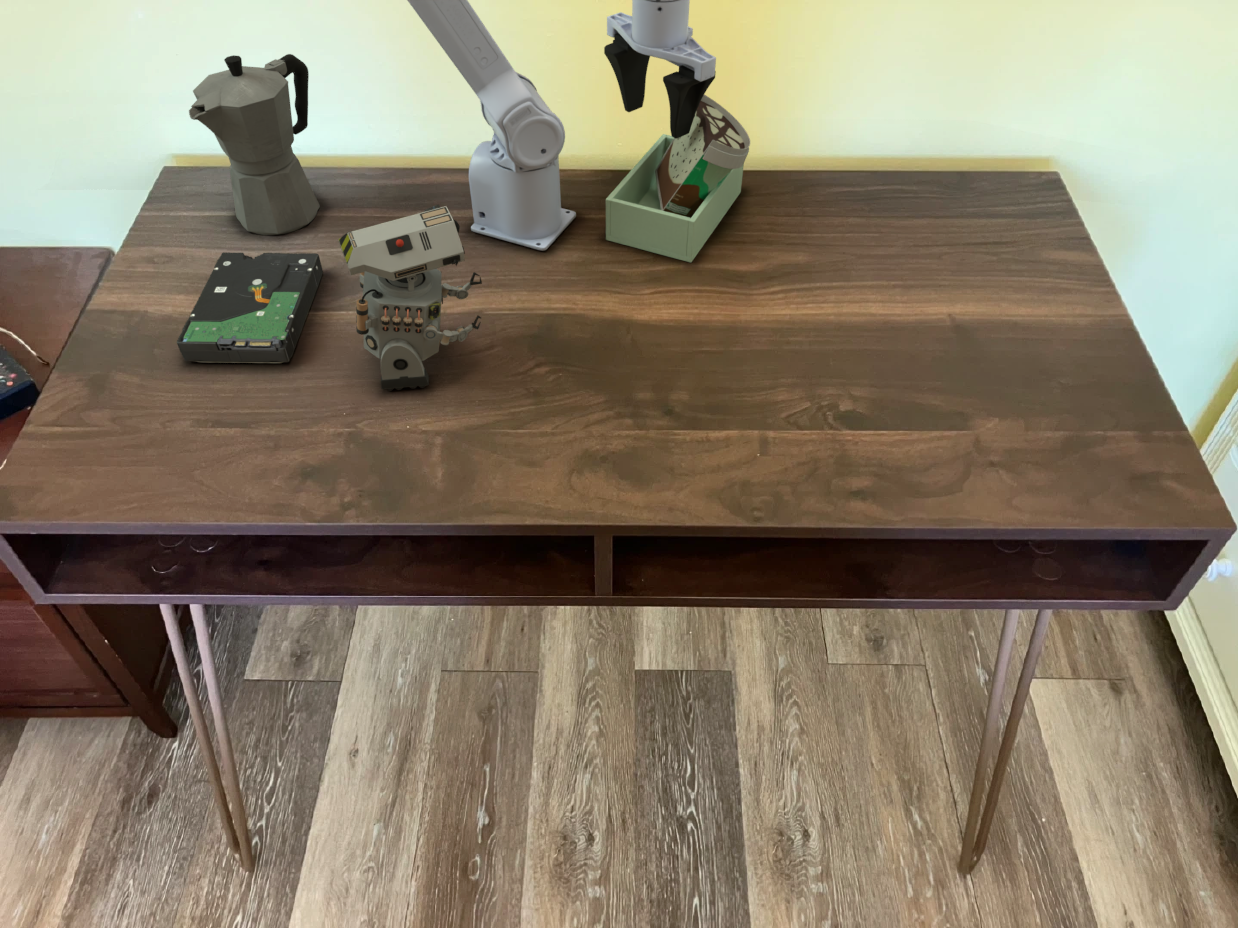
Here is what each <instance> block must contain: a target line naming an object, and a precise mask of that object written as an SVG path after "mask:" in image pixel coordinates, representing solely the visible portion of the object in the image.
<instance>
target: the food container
mask: <svg viewBox="0 0 1238 928" xmlns="http://www.w3.org/2000/svg"><path fill="white" fill-rule="evenodd" d="M750 146H751V139H750V136H749V134H748V132H747V131H746V129H745V128H744V126H743V125H742V124H741V123H740V122H739V120H738V119H737V118H735V116H734V115H733V114H731V113H730V112H729V111H728V110H727V109H726V108H724V106H722V105H721V104H720V103H718V102H717V101H716V100H714V99H712V98H711V97H710V96H708V95H706V94H704V95H703V97H702V99H701V101H700V103H699V106H698V108H697V111H696V113H695V116H694V119H693V122H692V125H691V128H690V132H689V133H688V134H686V135H684V136H682V137H679V138H677V139H676V138H674V139H673V140H672V142H671V144H670V146H669V147H668V149H667V151H666V153H665V154H664V156H663V158H662V159H661V161H660V163H659V165H658V166H657V168H656V170H655V176H656V182H657V189H658V195H659V201H660V208H661V210H662V211H666V212H670V213H674V214H678V215H682V216H685V217H689V218H691V217H692V216H693V215H694V213H695V212H696V211H697V209H698V208H699V207H700V205H701V204H702V203H703V201H704V200H705V198H706V197H707V196H708V194H709V193H710V192H711V191H712V190H713V189H715V188H716V187H717V186H719V185H720V184H721V183H722V181H723V180H724V179H725V178H726V176H727V175H728V174H729V173H730V171H731V170H732V169H737V168H740V167H742V166H743V164H744V165H745V162H746V160H747V157H748V155H749V153H750Z"/></svg>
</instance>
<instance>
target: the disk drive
mask: <svg viewBox="0 0 1238 928" xmlns="http://www.w3.org/2000/svg"><path fill="white" fill-rule="evenodd" d="M211 271H212V272H211V273H210V275H209V278H208V279H207V281H206V283H205V285H204V286H203V289H202V291H201V293H200V295H199V297H198V298H197V301H196V302H195V305H194V306H193V309H192V310H191V312H190V315H189V317H188V318H187V320H186V322H185V324H184V325H183V327H182V330H181V333H180V335H179V336H178V337H177V340H176V345H177V348H178V349H179V352H180V354H181V355H182V358H183V361H184V362H197V363H225V364H226V363H227V364H228V363H232V364H233V363H234V364H235V363H237V364H240V363H242V364H243V363H246V364H247V363H248V364H251V363H252V364H282V363H289V362H290V361H291V359H292V358H293V355H294V351H295V348H296V347H297V344H298V342H299V338H300V336H301V333H302V330H303V328H304V325H305V323H306V322H305V321H306V319H307V318H308V314H309V312H310V310H311V307H312V303H313V301H314V299H315V296H316V293H317V290H318V287H319V285H320V282H321V279H322V276H323V273H324V270H323V266H322V263H321V259H320V255H319V253H315V252H312V253H308V252H304V253H301V252H300V253H299V252H298V253H293V252H292V253H289V252H263V253H261V254H259V255H257V256H254V258H253V257H252V256H249V255H245V253H244V252H225V251H223V252H221V254H220V256H219V258H218V259H217V260H216V263H215V264H214V267H213V270H211Z"/></svg>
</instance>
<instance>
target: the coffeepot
mask: <svg viewBox="0 0 1238 928" xmlns="http://www.w3.org/2000/svg"><path fill="white" fill-rule="evenodd" d="M223 60H224V63H225V64H226V66H227V68H228V69H226V70H223V71H219V72H215V73H210V74H208V75H207V76H206V77H205V78H204V79H203V80H202V81H201V82H200V83H199V84H198V85H197V86H196V87H195V88H194V89H193V90H192V93H193V95H194V97H195V99H196V101H194V103H193V104H192V105H191V106H190V107H191V108H190V109H188V116H189V118H190V119H191V120H194V121H195V120H196V121H198V122H200V123H201V124H202V125H204V126H205V127H206V128H207V129H208V130H209V131H211V132H212V133H213V135H214V137H215V138H216V140H217V142H218V145H219V146H220V148H221V150H222V151H223V152H224V154H225V155H226V156H227V157H228V160H229V163H230V164H229V165H230V166H229V167H228V168H229V175H230V182H231V190H232V196H233V204H234V211H235V217H236V218H237V220H238V222H239V223H240V224H241V226H242V227H243V229H245V230H246V231H247V232H250V233H253V234H256V235H261V236H277V235H278V236H279V235H280V236H281V235H284V234H289V233H293V232H296V231H299V230H300V229H302V228H304V227H306V226H307V225H309V224H310V223H311V222H312V221H313V220H314V219H315V218H316V216H317V214H318V210H320V207H321V205H320V203H319V201H318V198H317V196H316V195H315V192H314V190H313V188H312V186H311V184H310V182H309V179H308V177H307V175H306V172H305V170H304V169H303V166H302V165H301V162H300V160H299V159H298V157H297V156H296V154H295V152H294V150H293V147H292V145H293V143H294V141H295V135H298V134H300V133H301V132H303V131H305V130H306V129H307V128H308V126H309V123H308V122H309V121H308V120H309V119H308V118H309V77H310V75H309V67H308V66H307V65H306V63H305V62H304V61H302V60H301V59H299V58H298V57H297V56H295V55H294V54H292V53H287V54H285V55H284V56H282V57H281V58H278V59H276V58H275V59H273V60H271V61H269V62H267V63H265V64H264V67H260V66H259V67H258V66H246V65H243V62H242V57H241V56H240V55H230V56H229V55H228V56H226V57H225V58H224V59H223ZM291 74H293V86H294V93H295V94H294V95H295V97H294V98H295V99H294V109H295V114H296V117H297V119H296V122H295V124H293V117H292V115H293V114H292V108H291V98H290V97H291V96H290V88H289V80H288V79H286V78H287V77H289V76H290V75H291Z"/></svg>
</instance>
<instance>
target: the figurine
mask: <svg viewBox="0 0 1238 928" xmlns="http://www.w3.org/2000/svg"><path fill="white" fill-rule="evenodd" d="M447 206H448V205H445V206H441V205H440V204H434V205H433V206H430V207H427V208H426V209H424V210H423V212H418V213H415V214H412V215H411V214H410V215H407V216H403V217H401V218H396V219H393V220H389V221H385V222H382V223H378V224H374V225H370V226H367V227H364V228H359V229H356V230H352V231H349V232H346V233H345V234H344V235H342V236H341V237H340V238H338V239H337V240H338V243H339V246H340V248H341V252H342V254H343V257H344V261H345V264H346V266H347V268H348V271H349V275H350V276H355V275H358V274H359V287H360V288H361V289H362V297H361V298H358V299H357V300H356V307H355V312H356V315H355V323H356V330H355V331H356V333H357V334H359V335H360V336H361V335H362V336H363V349H365V350H366V351H368V352H369V354H370V353H371V354H372V355H373V356H374V357H376V358H378V359H379V360H380V390H387V391H389V392H391V391H393V390H394V389H395V390H397V391H401V390H402V389H403V388H410V389H412V390H413V389H414V390H415V389H417V387H419V388H420V389H424V388H426V386H429V385H430V383H429V382H430V380H429V379H430V377H429V374H428V371H427V369H426V368H425V367H424V364H423V362H424V361H425V360H427V359H429V358H431V357H432V356H434V355H435V354H437V353H439V350H440V345H443V346H449V345H450V342H451V343H453V342H456V341H458V342H460V343H461V342H464V341H465V340H466V339H467V337H468V333H470V332H471V331H473V329H475V330H479V329H480V326H481V321H479V319H482V316H480V315H479V314H478V315H477V316H476V317H475V318H474V321H473V322H471V323H470V324H468V325H467V326H465V327H464V326H462V325H460V326H458V327H457V328H456V329H455V330H450V329H449V330H448V329H444V330H443V331H441V318H442V317H441V315H442V305H444V299H447V297H450V298H451V297H455V298H456V299H458V300H465V299H467V298H468V296H469V290H470V289H471V288H472V287H473V286H476V285H482V284H483V282H482V278H481V276H480V274H478V273H477V272H475V271H474V272H473V273H472V275H471V277H470V280H469V281H468V282H466V284H464V285H457V286H453V285H450V284H449V283H446V282H445V283H442V282H443V281H442V279H443V278H442V271H441V270H439V269H440V268H444V267H447V266H451V265H455V266H456V267H457V266H458V265H459V263H461V262H464V261H466V259H465V258H466V257H465V254H466V252H465V248H464V245H462V241H461V239H460V235H459V232H460V228H461V227H460V224H459V222H458V221H457V220H456V219H454V218H453V216H452V214H451V213H450V212H451V211H449V209H448V207H447ZM475 276H477V277H479V281H475ZM478 321H479V323H478ZM477 323H478V324H477Z"/></svg>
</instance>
